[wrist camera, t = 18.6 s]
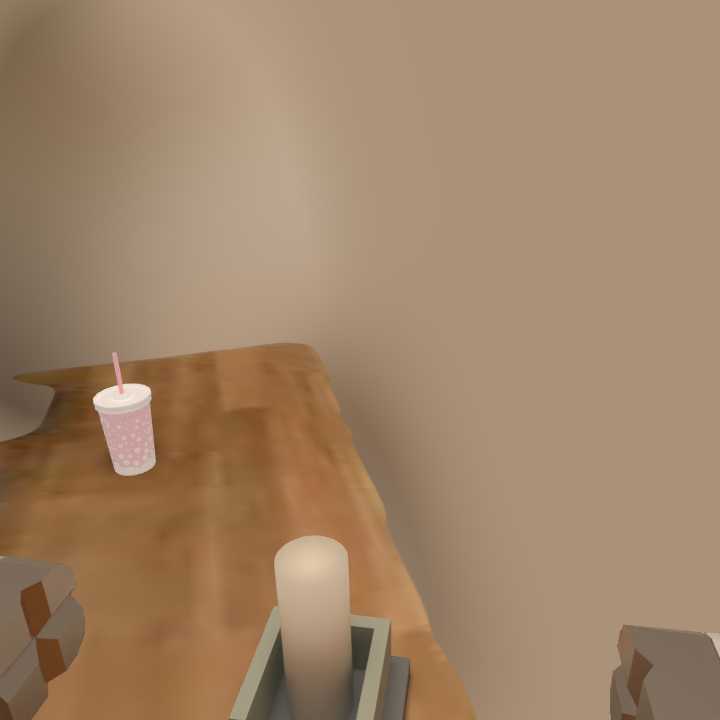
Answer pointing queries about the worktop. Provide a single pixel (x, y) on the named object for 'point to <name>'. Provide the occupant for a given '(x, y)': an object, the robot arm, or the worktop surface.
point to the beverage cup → (127, 425)
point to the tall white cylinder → (315, 628)
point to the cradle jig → (370, 675)
